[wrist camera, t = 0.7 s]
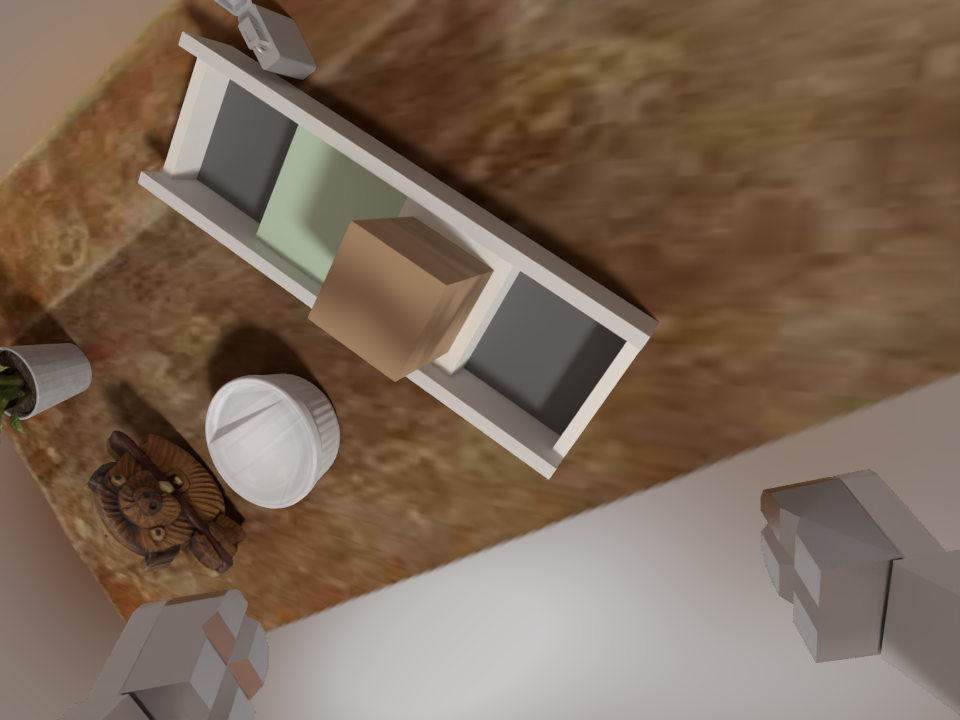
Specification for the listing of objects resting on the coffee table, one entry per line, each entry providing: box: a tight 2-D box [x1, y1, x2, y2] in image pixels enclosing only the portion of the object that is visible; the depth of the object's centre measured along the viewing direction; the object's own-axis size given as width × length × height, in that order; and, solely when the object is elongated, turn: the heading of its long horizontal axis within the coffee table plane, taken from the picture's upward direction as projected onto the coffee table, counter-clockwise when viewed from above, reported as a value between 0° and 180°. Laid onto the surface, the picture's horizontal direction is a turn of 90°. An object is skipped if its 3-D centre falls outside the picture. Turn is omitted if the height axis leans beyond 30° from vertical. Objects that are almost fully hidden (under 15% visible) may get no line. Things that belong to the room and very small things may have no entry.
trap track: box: [138, 31, 659, 479], centre depth 47 cm, size 39×12×5 cm, turn 60°
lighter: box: [214, 0, 316, 80], centre depth 45 cm, size 7×2×8 cm, turn 29°
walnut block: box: [308, 216, 494, 382], centre depth 42 cm, size 7×7×8 cm
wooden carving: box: [83, 431, 246, 578], centre depth 58 cm, size 16×5×10 cm, turn 49°
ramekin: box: [205, 374, 340, 509], centre depth 55 cm, size 11×11×5 cm
